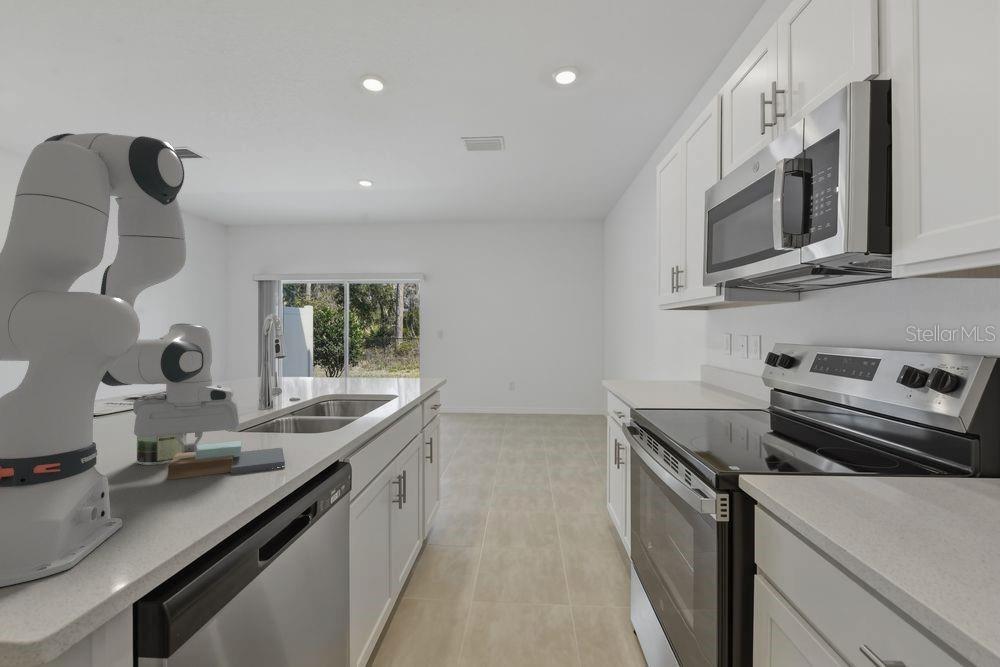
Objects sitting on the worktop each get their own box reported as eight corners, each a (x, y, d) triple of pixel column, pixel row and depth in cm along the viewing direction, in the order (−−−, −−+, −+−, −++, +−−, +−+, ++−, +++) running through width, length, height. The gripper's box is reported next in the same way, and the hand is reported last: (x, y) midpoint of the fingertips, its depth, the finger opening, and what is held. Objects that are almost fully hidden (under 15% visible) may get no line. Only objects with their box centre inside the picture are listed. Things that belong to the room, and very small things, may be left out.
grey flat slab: (284, 467, 107) (284, 461, 107) (231, 474, 102) (231, 467, 102) (282, 453, 120) (282, 447, 120) (234, 458, 114) (234, 452, 114)
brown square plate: (231, 471, 104) (231, 458, 104) (168, 479, 98) (168, 465, 98) (234, 458, 114) (234, 446, 114) (177, 464, 109) (177, 452, 109)
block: (240, 454, 107) (240, 446, 107) (195, 459, 103) (195, 450, 103) (241, 448, 113) (241, 440, 113) (198, 453, 108) (198, 444, 108)
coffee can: (130, 467, 106) (130, 408, 106) (143, 456, 116) (143, 401, 115) (182, 462, 111) (182, 405, 110) (191, 451, 120) (191, 399, 120)
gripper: (129, 398, 97) (130, 461, 97) (238, 392, 107) (238, 449, 107) (136, 394, 103) (136, 454, 103) (239, 388, 113) (239, 443, 113)
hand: (189, 451), depth 105 cm, fingers closed
